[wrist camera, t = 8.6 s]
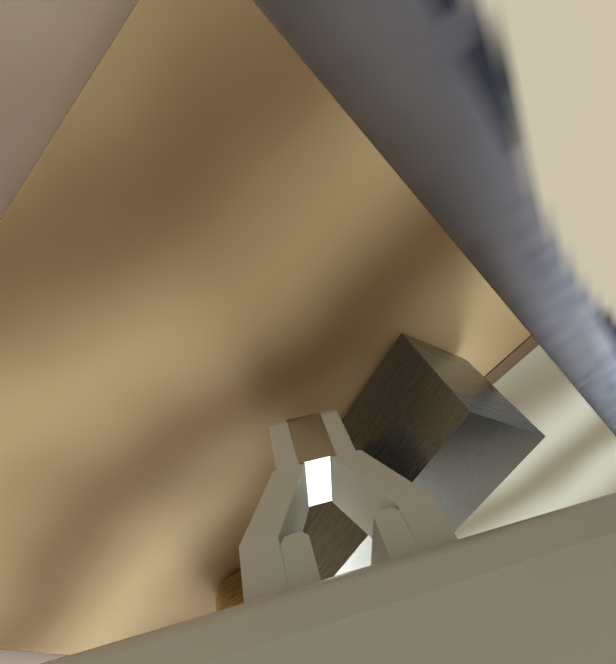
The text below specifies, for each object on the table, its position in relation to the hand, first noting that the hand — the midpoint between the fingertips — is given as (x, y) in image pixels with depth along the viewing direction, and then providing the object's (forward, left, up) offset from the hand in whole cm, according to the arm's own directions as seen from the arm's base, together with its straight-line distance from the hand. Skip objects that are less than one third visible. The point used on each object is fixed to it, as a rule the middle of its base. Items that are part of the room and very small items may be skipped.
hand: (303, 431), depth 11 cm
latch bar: (-4, +3, -1) cm, 5 cm away
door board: (-5, +4, -2) cm, 7 cm away
